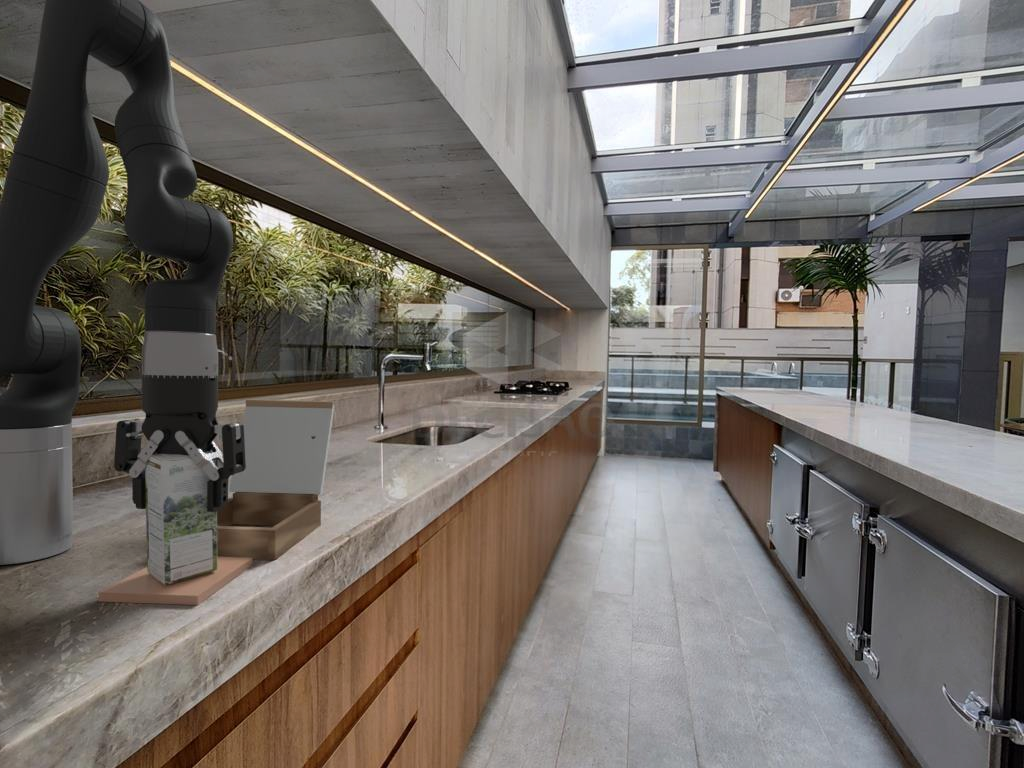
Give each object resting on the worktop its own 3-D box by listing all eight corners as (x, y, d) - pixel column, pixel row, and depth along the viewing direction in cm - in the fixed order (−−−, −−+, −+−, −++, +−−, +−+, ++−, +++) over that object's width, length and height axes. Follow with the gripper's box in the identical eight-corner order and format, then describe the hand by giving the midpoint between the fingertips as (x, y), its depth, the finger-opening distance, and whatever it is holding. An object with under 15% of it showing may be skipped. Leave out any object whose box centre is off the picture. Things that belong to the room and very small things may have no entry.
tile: (98, 601, 56) (98, 592, 56) (169, 562, 67) (169, 554, 67) (197, 604, 55) (197, 595, 55) (252, 565, 66) (252, 557, 66)
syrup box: (199, 559, 65) (196, 445, 64) (219, 571, 61) (216, 451, 61) (146, 573, 61) (142, 452, 60) (164, 587, 57) (160, 458, 56)
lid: (228, 493, 83) (228, 402, 83) (249, 484, 89) (249, 399, 89) (320, 495, 83) (320, 404, 82) (334, 486, 89) (335, 401, 88)
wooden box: (165, 556, 69) (164, 452, 68) (243, 515, 88) (243, 433, 87) (275, 559, 68) (275, 455, 68) (330, 517, 87) (330, 435, 87)
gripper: (95, 370, 57) (95, 516, 57) (221, 374, 56) (220, 521, 57) (146, 370, 64) (146, 498, 65) (257, 373, 63) (256, 502, 64)
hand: (180, 509), depth 61 cm, fingers open, 8 cm apart
